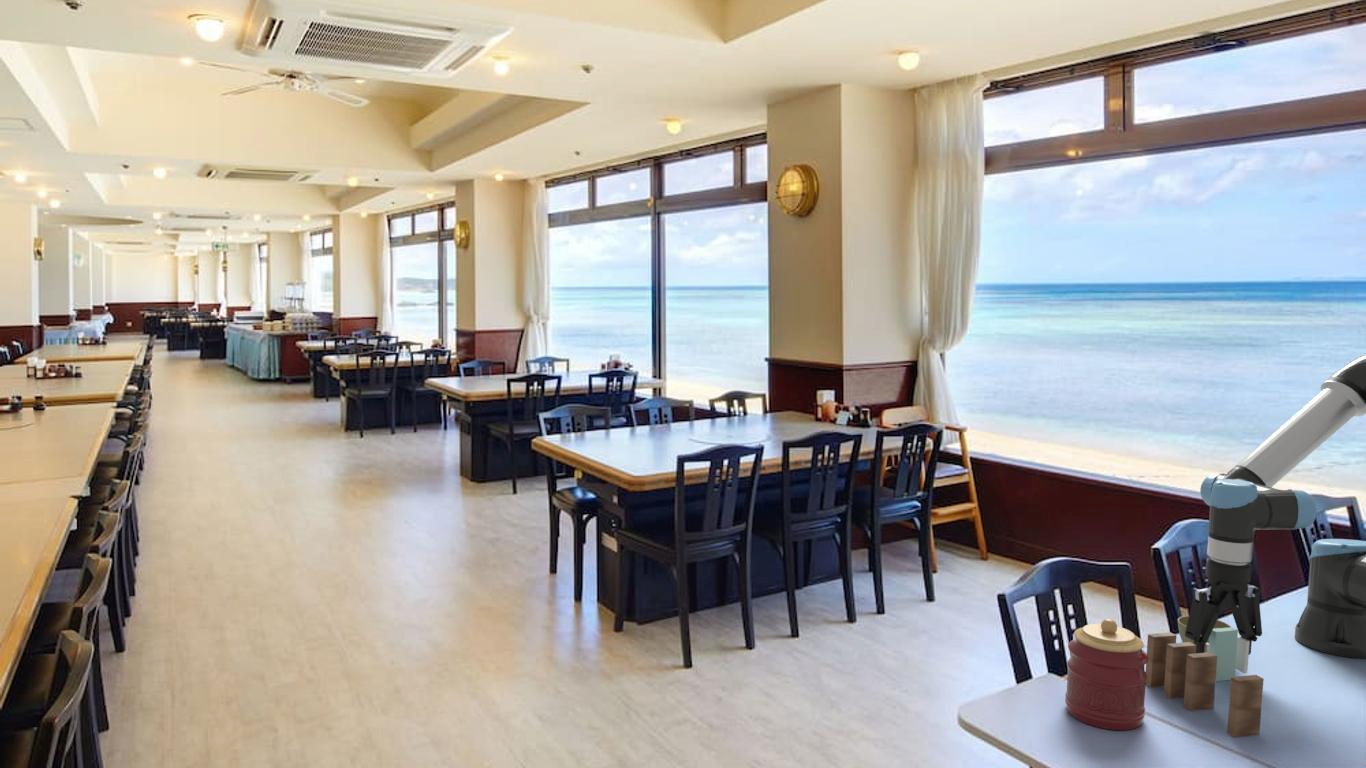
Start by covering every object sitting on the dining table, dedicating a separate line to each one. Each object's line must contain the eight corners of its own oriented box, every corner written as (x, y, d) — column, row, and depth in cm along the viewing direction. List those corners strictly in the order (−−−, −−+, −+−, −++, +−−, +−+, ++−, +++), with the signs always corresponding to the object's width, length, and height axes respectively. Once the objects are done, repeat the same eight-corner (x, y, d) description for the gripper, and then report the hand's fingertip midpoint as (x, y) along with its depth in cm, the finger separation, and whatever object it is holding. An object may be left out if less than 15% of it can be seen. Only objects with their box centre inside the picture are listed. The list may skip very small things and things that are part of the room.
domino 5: (1251, 730, 157) (1255, 674, 156) (1259, 734, 156) (1263, 678, 155) (1227, 732, 156) (1231, 677, 155) (1234, 737, 154) (1238, 681, 153)
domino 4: (1227, 676, 180) (1231, 627, 179) (1234, 679, 178) (1237, 630, 177) (1206, 678, 178) (1209, 629, 177) (1212, 681, 177) (1216, 632, 176)
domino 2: (1186, 692, 172) (1189, 641, 171) (1192, 696, 170) (1196, 645, 169) (1163, 695, 171) (1167, 643, 170) (1169, 698, 169) (1173, 647, 168)
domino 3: (1206, 704, 167) (1210, 652, 166) (1213, 708, 165) (1217, 655, 164) (1183, 707, 166) (1187, 654, 165) (1190, 710, 164) (1193, 657, 163)
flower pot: (1238, 668, 183) (1241, 634, 182) (1184, 664, 185) (1187, 630, 184) (1219, 649, 193) (1222, 617, 192) (1168, 645, 195) (1171, 613, 194)
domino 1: (1166, 681, 177) (1170, 632, 176) (1173, 685, 175) (1176, 635, 174) (1144, 683, 175) (1147, 634, 174) (1150, 687, 174) (1153, 637, 173)
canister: (1142, 739, 154) (1149, 638, 152) (1060, 720, 160) (1065, 624, 158) (1145, 708, 165) (1152, 614, 163) (1069, 692, 171) (1074, 602, 169)
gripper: (1258, 551, 182) (1250, 660, 184) (1167, 557, 177) (1160, 668, 179) (1290, 562, 174) (1281, 675, 177) (1197, 568, 170) (1189, 684, 172)
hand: (1220, 672), depth 178 cm, fingers open, 8 cm apart
